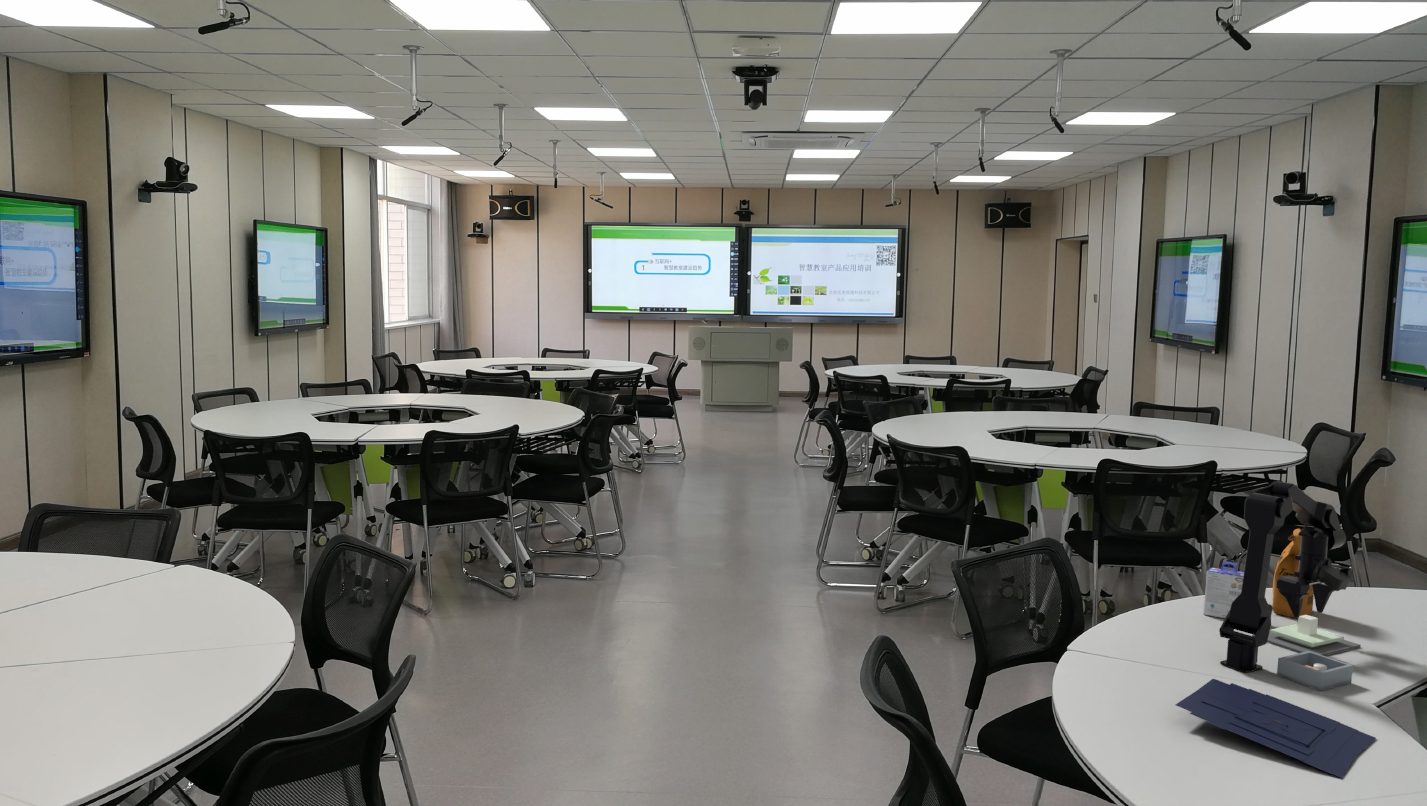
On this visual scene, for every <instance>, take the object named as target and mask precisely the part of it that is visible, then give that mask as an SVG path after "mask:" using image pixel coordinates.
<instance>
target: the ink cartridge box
mask: <svg viewBox="0 0 1427 806" xmlns="http://www.w3.org/2000/svg"><path fill="white" fill-rule="evenodd" d="M1225 565H1231V566H1233V567H1230V566H1225ZM1205 575H1206V576H1205V588H1204V589H1205V590H1204V592H1205V593H1204V600H1203V601H1204V603H1203V615H1204V616H1205V615H1206V616H1211V617H1216V618H1221V619H1225V618H1226V616H1227V614H1228V612H1229V611H1230V608H1231V604H1232V602H1233V601H1234V600H1235V599H1236V598H1237V597H1238V596H1239V595H1240V594H1241V590H1242V583H1243V576H1244V571H1238V562H1233V561H1226V560H1222V564H1221V567H1220V568H1217V567H1210V568H1209V569H1208V570H1207V571H1206V574H1205Z"/></svg>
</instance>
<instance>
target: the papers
mask: <svg viewBox="0 0 1427 806" xmlns="http://www.w3.org/2000/svg"><path fill="white" fill-rule="evenodd" d="M1174 706H1176V707H1178V708H1181V709H1184V710H1185V711H1188V712H1189V714H1190V715H1192V716H1194V717H1196V718H1199V719H1202V720H1204V721H1205V722H1207V723H1209V724H1211V725H1213V726H1215V727H1219V728H1220V729H1223V730H1225V731H1230V732H1232V733H1234V734H1236V735H1239V736H1241V737H1243V738H1247V739H1248V740H1251V741H1253V742H1256V743H1258V744H1261V745H1262V746H1266V747H1268V748H1270V749H1272V750H1274V751H1278V752H1280V753H1283V754H1285V755H1287V756H1289V757H1292V758H1294V759H1297V760H1298V761H1301V762H1302V763H1305V764H1307V765H1310V766H1311V767H1314V768H1316V769H1318V770H1320V771H1324V772H1326V773H1329V774H1331V775H1334V776H1336V777H1338V778H1341V779H1342V778H1343V777H1344V775H1345V774H1346V772H1347V771H1348V770H1349V768H1350V766H1351V765H1352V763H1354V761H1355V759H1356V758H1357V756H1358V755H1359V754H1361V753H1362V752H1363V751H1364V750H1365V749H1366V748H1367V747H1368V746H1369V745H1371V744H1372V742H1374V741H1375V740H1376V739H1377V737H1375V736H1373V735H1370V734H1367V733H1365V732H1362V731H1360V730H1358V729H1356V728H1353V727H1351V726H1349V725H1346V724H1344V723H1342V722H1341V721H1337V720H1335V719H1333V718H1330V717H1327V716H1324V715H1323V714H1322V715H1321V714H1320V713H1316V712H1314V711H1312V710H1309V709H1306V708H1303V707H1301V706H1298V705H1295V704H1293V703H1290V702H1288V701H1285V700H1282V699H1279V698H1277V697H1275V696H1273V695H1272V696H1271V695H1269V694H1268V693H1267V694H1266V693H1262V692H1259V691H1257V690H1254V689H1251V688H1246V687H1244V686H1241V685H1238V684H1236V683H1233V682H1231V683H1230V684H1229V683H1226V682H1224V681H1222V680H1218V679H1216V678H1211V679H1210V680H1209V681H1208V682H1206V683H1205V684H1203V685H1202V686H1200V687H1199V688H1198V689H1196V690H1195V691H1194V692H1192V693H1191V694H1189V695H1188V696H1186V697H1185V698H1183V699H1181V700H1180V701H1178V702H1177V703H1176V704H1174Z"/></svg>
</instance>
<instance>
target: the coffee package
mask: <svg viewBox="0 0 1427 806" xmlns="http://www.w3.org/2000/svg"><path fill="white" fill-rule="evenodd" d="M1301 530H1302V529H1301V528H1296V529H1294V530H1293V533H1292V534H1291V535H1290V536H1288V538H1287V539H1288V540H1289V541H1291V542H1290V543H1289V544H1288V545H1287V546H1286V547H1285V548H1284V549H1283V551H1282V552H1281V555H1280V556H1279V559H1278V561H1277V562H1276V563H1277V564H1276V567H1275V571H1274V575H1273V581H1272V604H1271V605H1272V608H1273V610H1272V612H1273V613H1274V614H1276V615H1281V616H1283V617H1292V618H1295V619H1297V618H1296V617H1294V615H1293V613H1292V611H1291V609H1290V606H1289V604H1288V602H1287V600H1286V598H1285V596H1284V594H1283V592H1282V591H1280V590H1279V588H1277V587H1276V581H1277V579H1278V578H1280V577H1283V576H1288V575H1290V576H1293V577H1297V578H1299V577H1298V576H1294V572H1295V571H1298V569H1299V560H1296V559H1295V557H1296V555H1300V545H1301V536H1299V535H1298V533H1299V532H1300V531H1301ZM1307 593H1309V594H1308V595H1307V596H1306V597H1304V598H1303V602H1302V608H1301V613H1300V616H1302V615H1309V616H1311V614H1312V612H1313V607H1314V593H1313V587H1312V585H1310V587H1309V590H1308V592H1307Z"/></svg>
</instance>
